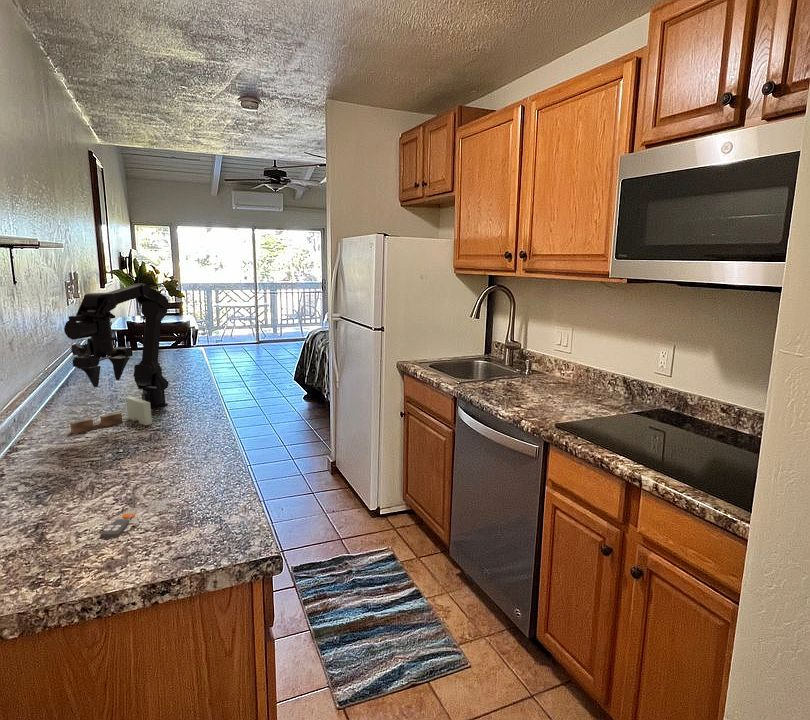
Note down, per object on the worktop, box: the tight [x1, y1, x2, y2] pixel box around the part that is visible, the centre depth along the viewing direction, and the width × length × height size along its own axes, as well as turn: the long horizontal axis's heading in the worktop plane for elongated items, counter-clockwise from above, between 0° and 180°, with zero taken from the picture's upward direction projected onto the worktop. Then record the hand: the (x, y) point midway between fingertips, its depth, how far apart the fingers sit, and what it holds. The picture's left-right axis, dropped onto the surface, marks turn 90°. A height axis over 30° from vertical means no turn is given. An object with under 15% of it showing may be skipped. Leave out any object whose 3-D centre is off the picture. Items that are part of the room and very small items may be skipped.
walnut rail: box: [69, 411, 123, 434], centre depth 160 cm, size 14×2×3 cm, turn 142°
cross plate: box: [125, 395, 153, 426], centre depth 166 cm, size 12×2×7 cm, turn 52°
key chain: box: [99, 511, 138, 538], centre depth 103 cm, size 13×4×2 cm, turn 4°
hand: (107, 383), depth 163 cm, fingers open, 9 cm apart
